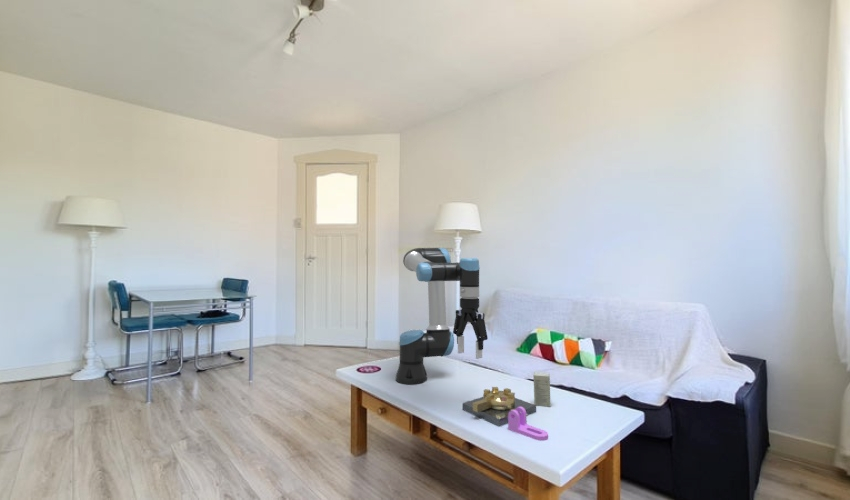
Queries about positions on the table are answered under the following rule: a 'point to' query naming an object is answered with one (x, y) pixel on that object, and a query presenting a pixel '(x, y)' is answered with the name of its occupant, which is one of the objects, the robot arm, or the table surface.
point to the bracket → (524, 425)
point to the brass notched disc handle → (495, 400)
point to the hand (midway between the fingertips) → (469, 355)
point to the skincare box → (542, 389)
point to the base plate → (498, 411)
